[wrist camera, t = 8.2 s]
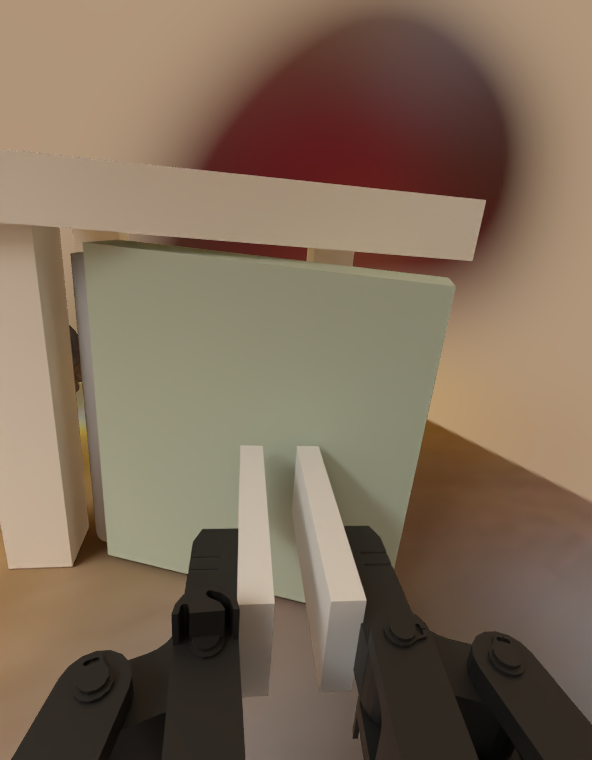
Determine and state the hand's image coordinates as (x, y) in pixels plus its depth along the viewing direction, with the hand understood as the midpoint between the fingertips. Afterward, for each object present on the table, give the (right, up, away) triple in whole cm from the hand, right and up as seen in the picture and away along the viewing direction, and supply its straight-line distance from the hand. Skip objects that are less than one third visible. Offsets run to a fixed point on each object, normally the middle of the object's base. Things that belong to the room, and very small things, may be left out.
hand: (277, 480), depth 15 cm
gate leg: (-2, -5, +4) cm, 7 cm away
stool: (-4, -2, +11) cm, 12 cm away
